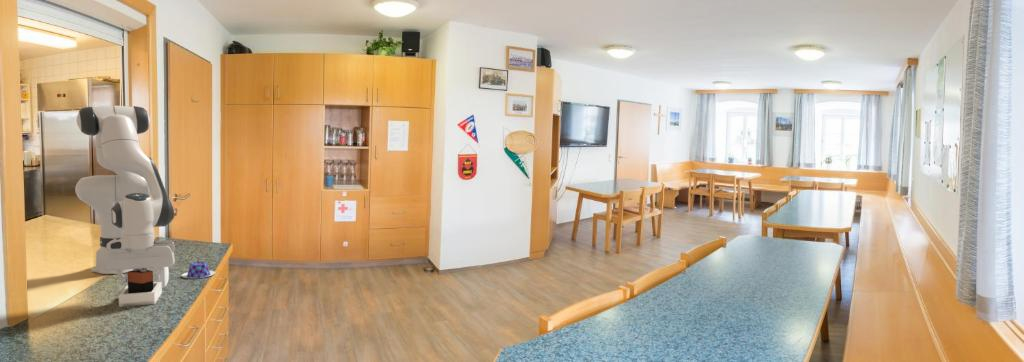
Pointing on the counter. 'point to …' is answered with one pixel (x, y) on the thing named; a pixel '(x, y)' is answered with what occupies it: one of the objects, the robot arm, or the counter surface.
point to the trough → (140, 296)
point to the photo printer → (162, 276)
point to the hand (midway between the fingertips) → (140, 280)
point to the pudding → (198, 270)
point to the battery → (140, 281)
